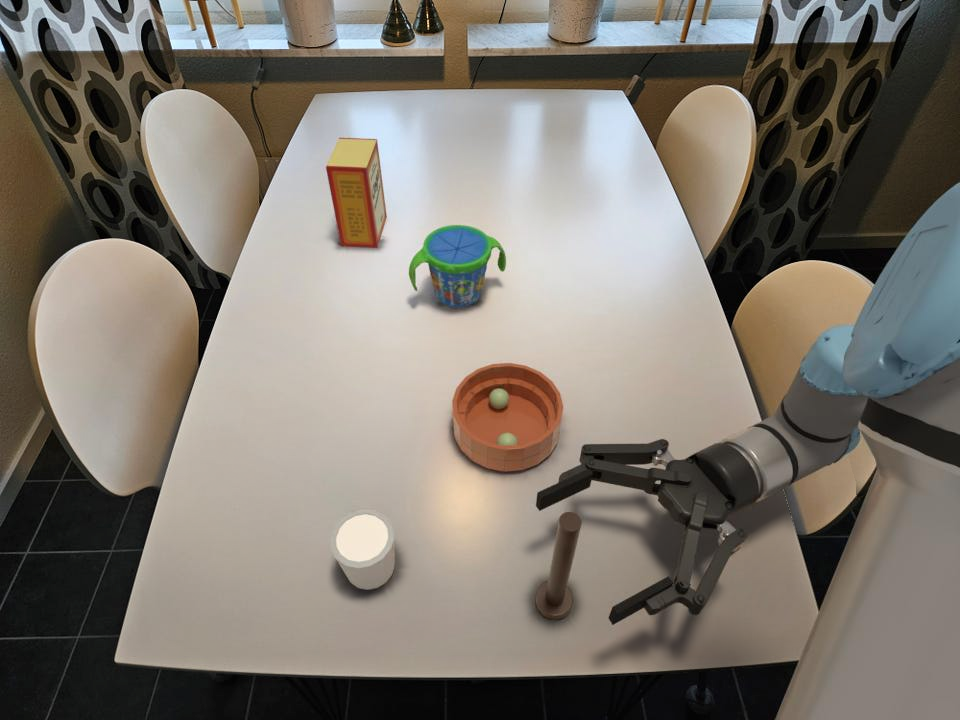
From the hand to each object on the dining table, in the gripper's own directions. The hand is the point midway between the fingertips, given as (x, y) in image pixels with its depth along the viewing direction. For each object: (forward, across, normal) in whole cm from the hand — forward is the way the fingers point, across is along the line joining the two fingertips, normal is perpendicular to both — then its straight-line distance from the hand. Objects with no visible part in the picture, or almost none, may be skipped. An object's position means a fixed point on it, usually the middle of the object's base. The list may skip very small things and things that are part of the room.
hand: (572, 555), depth 65 cm
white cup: (+18, +13, -10) cm, 24 cm away
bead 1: (-6, +27, -8) cm, 29 cm away
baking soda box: (-4, +74, -10) cm, 75 cm away
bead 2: (-4, +20, -8) cm, 22 cm away
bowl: (-5, +23, -10) cm, 26 cm away
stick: (+1, 0, -10) cm, 10 cm away
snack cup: (-12, +51, -10) cm, 53 cm away
